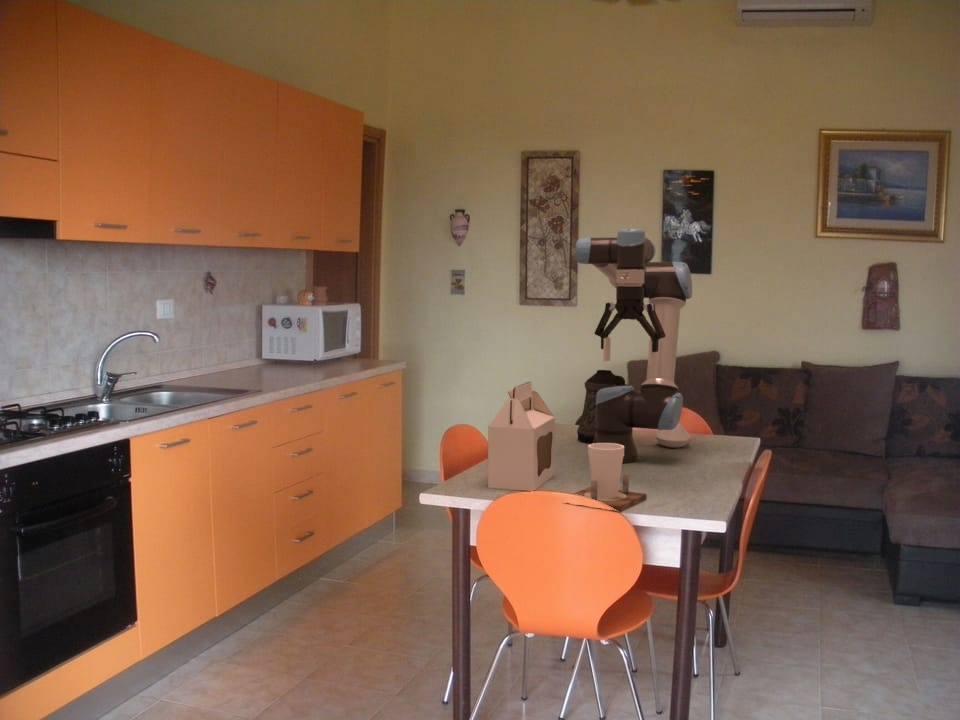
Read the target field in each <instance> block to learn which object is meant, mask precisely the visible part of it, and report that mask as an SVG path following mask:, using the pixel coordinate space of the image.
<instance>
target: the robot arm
mask: <svg viewBox="0 0 960 720" xmlns="http://www.w3.org/2000/svg"><path fill="white" fill-rule="evenodd" d="M574 255H575V256H574V257H575V259H576V261H577V263H578V264H582V265H592V266H593V267H595V268H596V269H597V270H598V271H599V272H601V273H602V274H603V275H604V276H605V277H606V278H608V280H609V283H610V284H611V286H613V287H614V288H615V289H616V290H615V291H616V293H615V295H616V296H615V298H616V302H615V303H614V302H606V303H605V307H604V311H603V314H602V316H601V318H600V320H599V322H598V324H597V326H596V329H595V331H594V335H595V336H598V337H600V348H601V350H603V353H602V354H603V357H602V358H603V360H602V362H603V363H604V362H609V361H611V337H609V335H610V334H611V333H612V332H613V330H614V329H615V328H616V327H617V325H618V324H620V322H621V321H622V320H632V321H633V320H634V321H635V320H636V321H637V322H639V324H640V325H641V327H642V328H643V329H644V331H645V332H646V334H647V335H648V336H649V340H648V355H647V356H648V357H647V358H648V360H647V368H646V379H645V381H643V382H642V383H641V384H640V390H635V388H634V386H633V385H629V386H615V387H608V388H603V389H600V390H599V391H598V392H597V398H596V435H595V438H594V441H593V444H594V443H615V444H620V445H623V446H624V457H623V461H622V464H626V463H627V464H628V463H634V462H636V461H638V459H639V458H638V456H639V453H638V448H637V447H636V443H635V440H634V434H633V432H634V431H633V428H634V429H643V430H644V429H646V430H647V429H649V430H658V431H660V430H672V429H674V428H675V427H676V426H677V425H678V423H680V420H681V415H682V412H683V411H682V410H683V402H684V396H683V394H682V393H680V392H679V387H678V386H677V384H676V383H675V373H676V363H677V362H676V361H677V350H678V338H679V329H680V328H679V327H680V316H681V314H680V313H681V309H682V308H684V307H685V306H686V301H687V300H689V299H691V298H692V296H693V282H692V274H691V271H690V268H689V265H688V264H687V263H686V262H682V261H652V260H653V259H654V257H655V255H656V246H655V244H654V242H653V241H652V240H651V239H649V238H648V237H646V231H645V230H644V228H620V229H619V230H618V231H617V237H590V236H589V237H581V238H579V239H577V241H576V243H575V247H574ZM644 299H648V303H647V304H645V302H644ZM615 310H616V314H615V315H613V318H612V320H611V321H610V322H609V320H610V318H611V316H612V314H613V311H615ZM644 310H645V312H647V315H648V317H649V320H650V322H651V323H650V322H649V321H648V320H647V317H646V316H645V315H644V313H643V312H644ZM608 322H609V323H608ZM607 324H608V325H607Z"/></svg>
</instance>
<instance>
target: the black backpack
mask: <svg viewBox="0 0 960 720" xmlns="http://www.w3.org/2000/svg"><path fill="white" fill-rule="evenodd" d="M615 386H630V385H629V384H626V379H625V378H624V377H623V376H621V375H617V374H614V373H613V372H612V370H608V369H597V370H596V373H594V374H593V375H592V376H590V377H589V378H588V379H587V380H585V382H584V388H585V397H584V403H583V411H582V415H581V419H580V423H579V426H578V428H577V431H576V433H577V441H578V442H580V443H583V444H588V445H590V444H593V441H594V438H595V435H596V398H597V392H598V391H599V390H600V389H603V388H608V387H615Z"/></svg>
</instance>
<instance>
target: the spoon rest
mask: <svg viewBox="0 0 960 720" xmlns="http://www.w3.org/2000/svg"><path fill="white" fill-rule="evenodd" d="M655 438H656V441H657V442H658V443H659V444H660V445H661V446H662V447H664V446H665V448H670V449H671V448H672V449H679V448H681V447H682V448H683V447H684V446H686V445H687V444H689V442H690V440H691V435H690V434H689V432H688V431H687V430H686V429H685V428H684V426H683V425H682V424H681V423H680V422H679V423H678V425H677V426H676V427H675V428H674V429H672V430H658V431H657V433H656V434H655Z"/></svg>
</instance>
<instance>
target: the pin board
mask: <svg viewBox="0 0 960 720" xmlns="http://www.w3.org/2000/svg"><path fill="white" fill-rule="evenodd" d="M629 481H630V474H629V473H628V474H627V473H623V474H622V489H618V496H617V497H615V498H599V497H597V481H592V480H591V481H590V486H589V487H586V488H584V489H580V490H578V491H576V492H574V493H572V494H578V495H582V496H586V497H590V498H592V499H595V500H598V501H601V502H603V503H605V504H607V505H609V506H611V507H613V508H614V509H616V510H618V511H619V512H618V513H621V512H624V511H626V510H627V509H629V508H631V507H634V506H636V505H638V504H640V503H642V502H644V501H647V493H642V492H636V491H630V490H629V487H630V486H629V485H630V484H629V483H630V482H629Z"/></svg>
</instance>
